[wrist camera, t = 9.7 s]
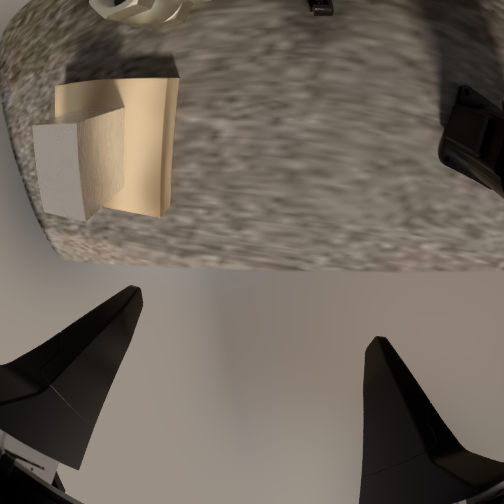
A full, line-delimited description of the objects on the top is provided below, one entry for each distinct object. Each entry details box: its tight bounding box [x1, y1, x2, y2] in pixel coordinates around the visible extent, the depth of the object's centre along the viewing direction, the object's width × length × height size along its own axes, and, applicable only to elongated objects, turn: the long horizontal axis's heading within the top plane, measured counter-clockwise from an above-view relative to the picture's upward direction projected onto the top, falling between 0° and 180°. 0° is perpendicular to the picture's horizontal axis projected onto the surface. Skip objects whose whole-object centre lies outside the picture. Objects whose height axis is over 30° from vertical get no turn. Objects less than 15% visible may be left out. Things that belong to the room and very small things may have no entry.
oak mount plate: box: [55, 77, 180, 218], centre depth 17 cm, size 10×10×2 cm
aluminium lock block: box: [33, 108, 125, 221], centre depth 15 cm, size 4×6×5 cm, turn 170°
